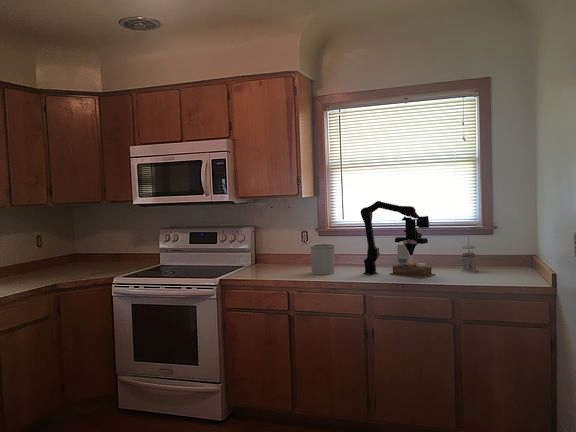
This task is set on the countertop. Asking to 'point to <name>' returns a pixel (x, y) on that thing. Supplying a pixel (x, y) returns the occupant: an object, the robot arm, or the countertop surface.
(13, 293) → the countertop surface
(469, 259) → the french press
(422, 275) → the mount
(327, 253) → the utensil holder
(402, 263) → the knob
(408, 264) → the knob mid
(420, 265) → the knob
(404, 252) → the milk carton
